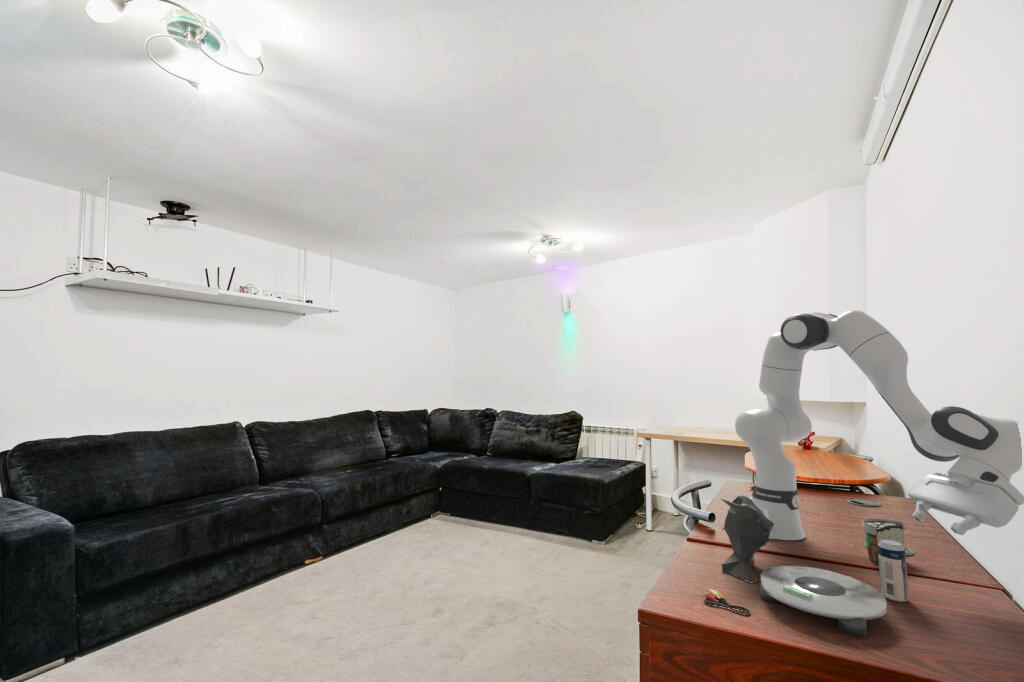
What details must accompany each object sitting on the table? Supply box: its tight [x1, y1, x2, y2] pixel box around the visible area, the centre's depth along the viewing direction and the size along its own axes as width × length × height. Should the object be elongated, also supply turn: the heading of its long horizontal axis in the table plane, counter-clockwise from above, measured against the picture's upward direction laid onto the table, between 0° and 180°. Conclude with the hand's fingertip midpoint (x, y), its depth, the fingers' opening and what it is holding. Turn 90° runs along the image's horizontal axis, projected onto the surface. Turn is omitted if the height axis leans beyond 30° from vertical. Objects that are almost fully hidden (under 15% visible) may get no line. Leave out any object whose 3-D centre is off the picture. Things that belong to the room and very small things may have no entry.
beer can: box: [878, 539, 910, 603], centre depth 103 cm, size 5×5×12 cm
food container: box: [861, 517, 906, 566], centre depth 125 cm, size 12×6×10 cm, turn 111°
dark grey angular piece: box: [720, 495, 774, 583], centre depth 120 cm, size 14×15×18 cm
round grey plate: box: [759, 565, 888, 638], centre depth 98 cm, size 22×22×6 cm
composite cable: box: [701, 588, 751, 615], centre depth 98 cm, size 10×5×2 cm, turn 30°
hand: (935, 525), depth 104 cm, fingers open, 8 cm apart
